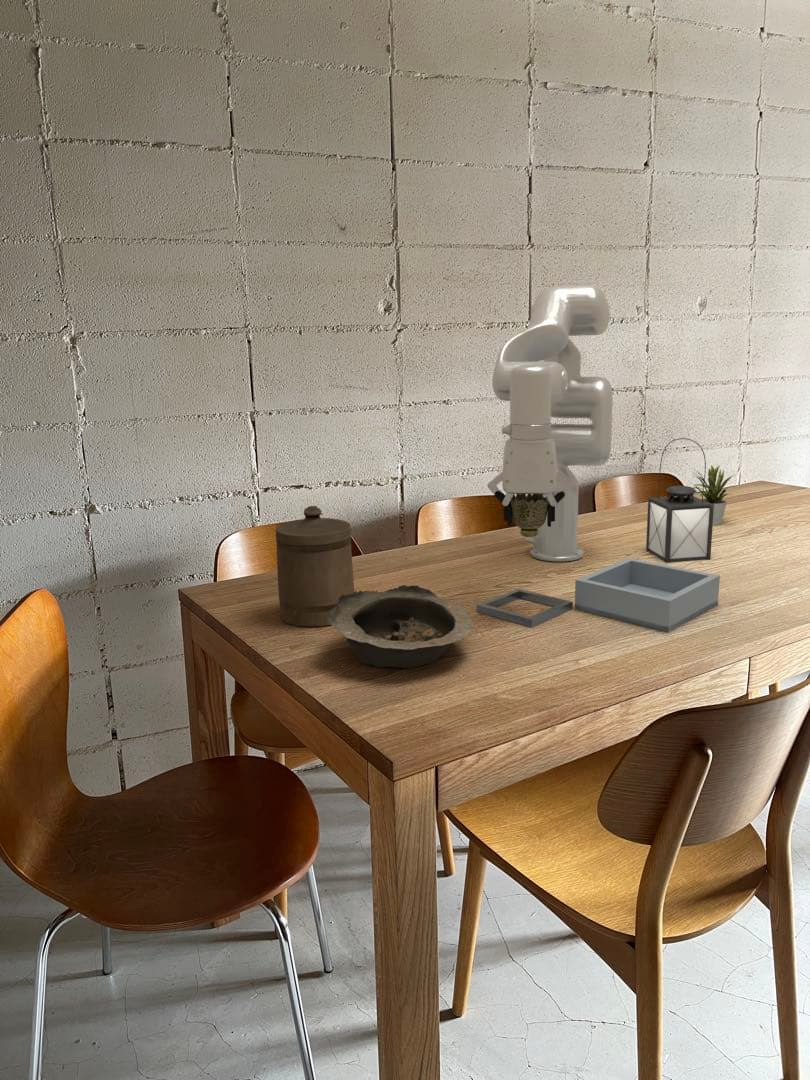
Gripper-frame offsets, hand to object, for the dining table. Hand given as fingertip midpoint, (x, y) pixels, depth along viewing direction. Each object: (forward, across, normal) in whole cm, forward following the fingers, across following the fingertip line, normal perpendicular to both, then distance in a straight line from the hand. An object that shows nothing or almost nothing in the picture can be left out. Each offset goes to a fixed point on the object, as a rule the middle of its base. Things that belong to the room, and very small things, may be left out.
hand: (529, 524), depth 162 cm
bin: (+18, +23, +4) cm, 29 cm away
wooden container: (+18, -41, -7) cm, 45 cm away
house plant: (+18, +46, +77) cm, 91 cm away
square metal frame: (+17, -1, 0) cm, 17 cm away
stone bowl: (+18, -21, -24) cm, 37 cm away
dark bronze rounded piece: (+3, 0, 0) cm, 3 cm away
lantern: (+18, +34, +43) cm, 57 cm away
